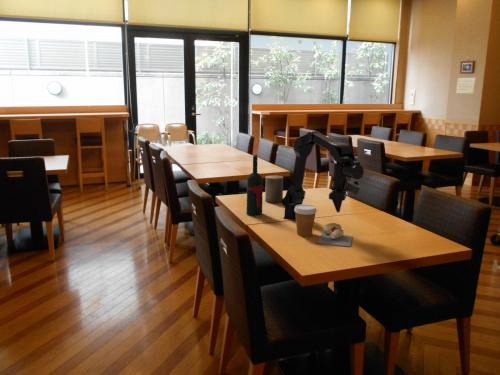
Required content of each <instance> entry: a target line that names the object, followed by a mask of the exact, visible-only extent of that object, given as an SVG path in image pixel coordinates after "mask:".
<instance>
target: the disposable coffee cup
mask: <svg viewBox="0 0 500 375" xmlns="http://www.w3.org/2000/svg"><path fill="white" fill-rule="evenodd" d="M294 211H295V215H296V219H295V224H296V225H295V226H296V234H297V235H298V236H301V237H310V236H312V235H313V230H314V224H315V218H316V213H317V212H318V209H317V208H316V206H315V205H313V204H307V203H306V204H304V203H302V204H301V205H296V206H295V209H294Z"/></svg>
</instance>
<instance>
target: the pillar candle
mask: <svg viewBox="0 0 500 375" xmlns="http://www.w3.org/2000/svg"><path fill="white" fill-rule="evenodd" d="M264 189H265V190H264V191H265V192H264V193H265V197H264V200H265V201H264V202H266V203H269V204H279V203H281V204H282V199H283V198H284V197H283V196H284V176H282V175H275V174H274V175H266V176H265V188H264Z"/></svg>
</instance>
